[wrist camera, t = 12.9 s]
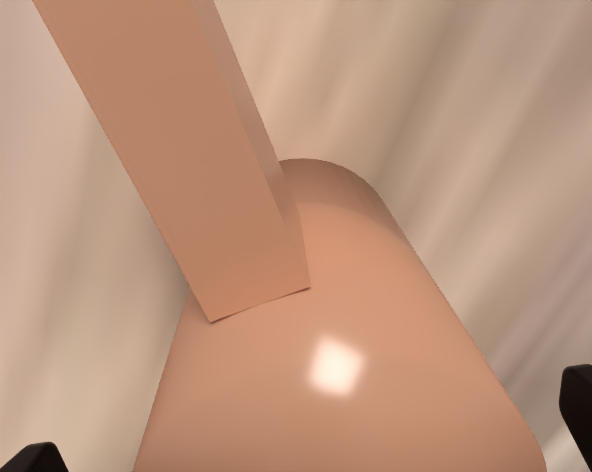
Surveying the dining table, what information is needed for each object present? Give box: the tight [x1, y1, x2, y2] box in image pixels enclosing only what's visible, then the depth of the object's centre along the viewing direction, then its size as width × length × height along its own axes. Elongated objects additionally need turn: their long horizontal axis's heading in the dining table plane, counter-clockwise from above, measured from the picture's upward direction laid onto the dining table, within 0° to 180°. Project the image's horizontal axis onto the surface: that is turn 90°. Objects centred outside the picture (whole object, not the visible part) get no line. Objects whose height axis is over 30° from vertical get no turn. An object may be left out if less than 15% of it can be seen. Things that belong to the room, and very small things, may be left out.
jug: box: [32, 0, 547, 472], centre depth 10 cm, size 11×6×9 cm, turn 21°
